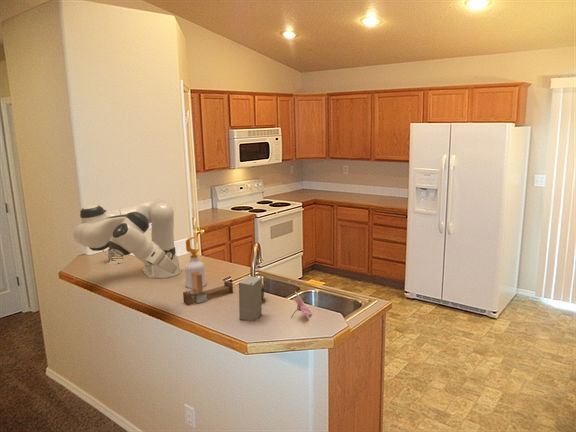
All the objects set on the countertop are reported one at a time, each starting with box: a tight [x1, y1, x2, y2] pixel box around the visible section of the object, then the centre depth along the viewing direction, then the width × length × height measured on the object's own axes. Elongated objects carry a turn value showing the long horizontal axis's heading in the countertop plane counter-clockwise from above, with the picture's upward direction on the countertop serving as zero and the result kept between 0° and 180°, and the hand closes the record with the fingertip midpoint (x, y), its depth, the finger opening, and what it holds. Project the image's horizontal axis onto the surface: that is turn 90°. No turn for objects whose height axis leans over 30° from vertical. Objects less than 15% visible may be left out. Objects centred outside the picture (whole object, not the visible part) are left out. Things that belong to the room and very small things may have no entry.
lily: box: [290, 290, 313, 321], centre depth 182 cm, size 12×12×10 cm
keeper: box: [188, 272, 208, 304], centre depth 202 cm, size 7×5×12 cm
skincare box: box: [238, 275, 263, 322], centre depth 183 cm, size 8×7×16 cm
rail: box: [182, 280, 234, 306], centre depth 206 cm, size 4×23×5 cm, turn 129°
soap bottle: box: [184, 235, 206, 289], centre depth 221 cm, size 9×9×25 cm
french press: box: [102, 246, 124, 261], centre depth 266 cm, size 10×12×25 cm
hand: (173, 271), depth 194 cm, fingers closed
